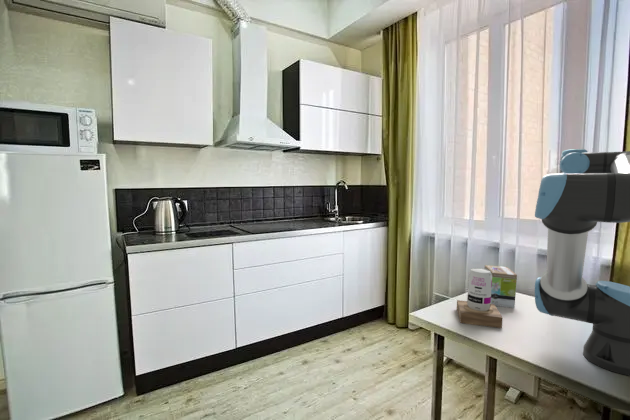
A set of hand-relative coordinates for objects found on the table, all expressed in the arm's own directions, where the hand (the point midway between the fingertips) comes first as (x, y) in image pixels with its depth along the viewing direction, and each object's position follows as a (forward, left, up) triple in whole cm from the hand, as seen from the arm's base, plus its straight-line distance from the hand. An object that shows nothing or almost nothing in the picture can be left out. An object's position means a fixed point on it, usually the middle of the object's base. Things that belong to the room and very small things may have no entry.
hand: (567, 250), depth 121 cm
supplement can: (-3, +29, -25) cm, 38 cm away
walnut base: (-3, +29, -29) cm, 41 cm away
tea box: (+21, +17, -29) cm, 40 cm away
